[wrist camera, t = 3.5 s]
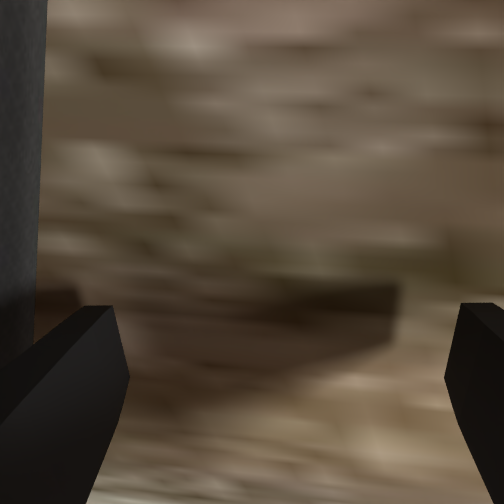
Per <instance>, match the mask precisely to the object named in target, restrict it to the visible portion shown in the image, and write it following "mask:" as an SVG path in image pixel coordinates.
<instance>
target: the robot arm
mask: <svg viewBox="0 0 504 504" xmlns="http://www.w3.org/2000/svg"><path fill="white" fill-rule="evenodd" d="M129 378H130V375H129V371H128V367H127V363H126V359H125V355H124V350H123V346H122V342H121V338H120V334H119V330H118V326H117V322H116V317H115V313H114V309H113V305H111V306H84V307H82V308H81V309H79V310H78V311H76V312H75V313H74V314H72V315H71V316H70V317H68V318H67V319H66V320H64V321H63V322H62V323H60V324H59V325H58V326H57V327H55V328H54V329H53V330H52V331H50V332H49V333H48V334H46V335H45V336H44V337H43V338H41V339H40V340H39V341H37V342H36V343H35V344H34V345H32V346H31V347H30V348H28V349H27V350H26V351H25V352H23V353H22V354H21V355H19V356H18V357H17V358H15V359H14V360H13V361H12V362H10V363H9V364H8V365H6V366H5V367H4V368H2V369H1V370H0V504H86V502H87V499H88V497H89V494H90V492H91V489H92V487H93V484H94V482H95V479H96V477H97V474H98V472H99V469H100V467H101V464H102V462H103V460H104V457H105V454H106V452H107V449H108V447H109V444H110V442H111V439H112V437H113V434H114V431H115V429H116V426H117V424H118V421H119V417H120V414H121V410H122V406H123V403H124V399H125V395H126V390H127V386H128V382H129ZM444 379H445V383H446V386H447V390H448V393H449V396H450V400H451V403H452V407H453V410H454V413H455V416H456V419H457V422H458V425H459V427H460V430H461V432H462V434H463V437H464V439H465V441H466V443H467V446H468V448H469V450H470V452H471V455H472V457H473V459H474V461H475V464H476V466H477V468H478V470H479V472H480V475H481V477H482V479H483V481H484V483H485V486H486V488H487V490H488V492H489V494H490V497H491V499H492V501H493V503H494V504H504V310H503V309H502V308H500V307H499V306H497V305H495V304H494V303H461V305H460V310H459V314H458V319H457V323H456V327H455V332H454V336H453V340H452V345H451V349H450V354H449V358H448V362H447V367H446V371H445V376H444Z"/></svg>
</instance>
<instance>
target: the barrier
mask: <svg viewBox="0 0 504 504" xmlns="http://www.w3.org/2000/svg"><path fill="white" fill-rule="evenodd" d="M47 1H48V0H0V370H1V369H2V368H4V367H5V366H6V365H8V364H9V363H10V362H12V361H13V360H14V359H15V358H17V357H18V356H19V355H21V354H22V353H23V352H25V351H26V350H27V349H28V348H30V347H31V346H32V345H33V338H34V314H35V290H36V266H37V242H38V218H39V194H40V170H41V145H42V121H43V97H44V73H45V49H46V25H47Z"/></svg>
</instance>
